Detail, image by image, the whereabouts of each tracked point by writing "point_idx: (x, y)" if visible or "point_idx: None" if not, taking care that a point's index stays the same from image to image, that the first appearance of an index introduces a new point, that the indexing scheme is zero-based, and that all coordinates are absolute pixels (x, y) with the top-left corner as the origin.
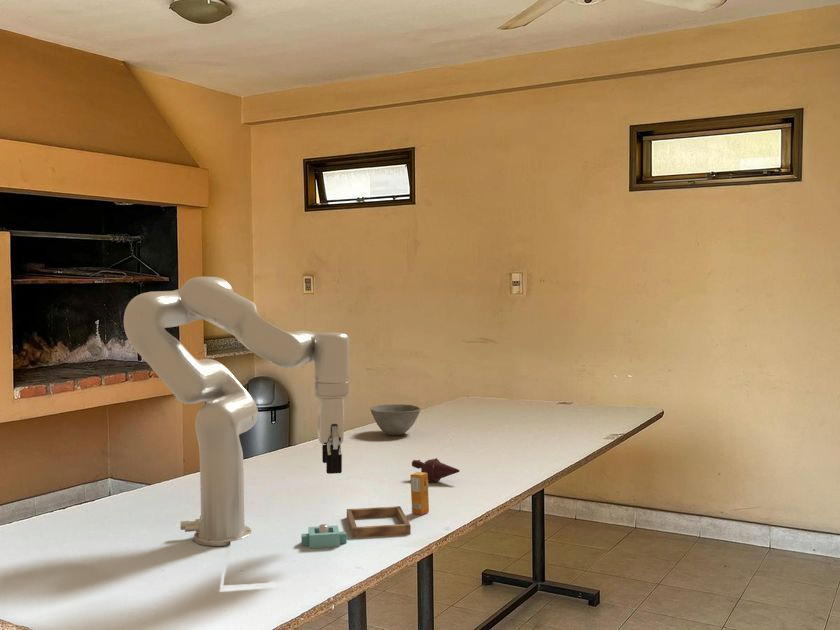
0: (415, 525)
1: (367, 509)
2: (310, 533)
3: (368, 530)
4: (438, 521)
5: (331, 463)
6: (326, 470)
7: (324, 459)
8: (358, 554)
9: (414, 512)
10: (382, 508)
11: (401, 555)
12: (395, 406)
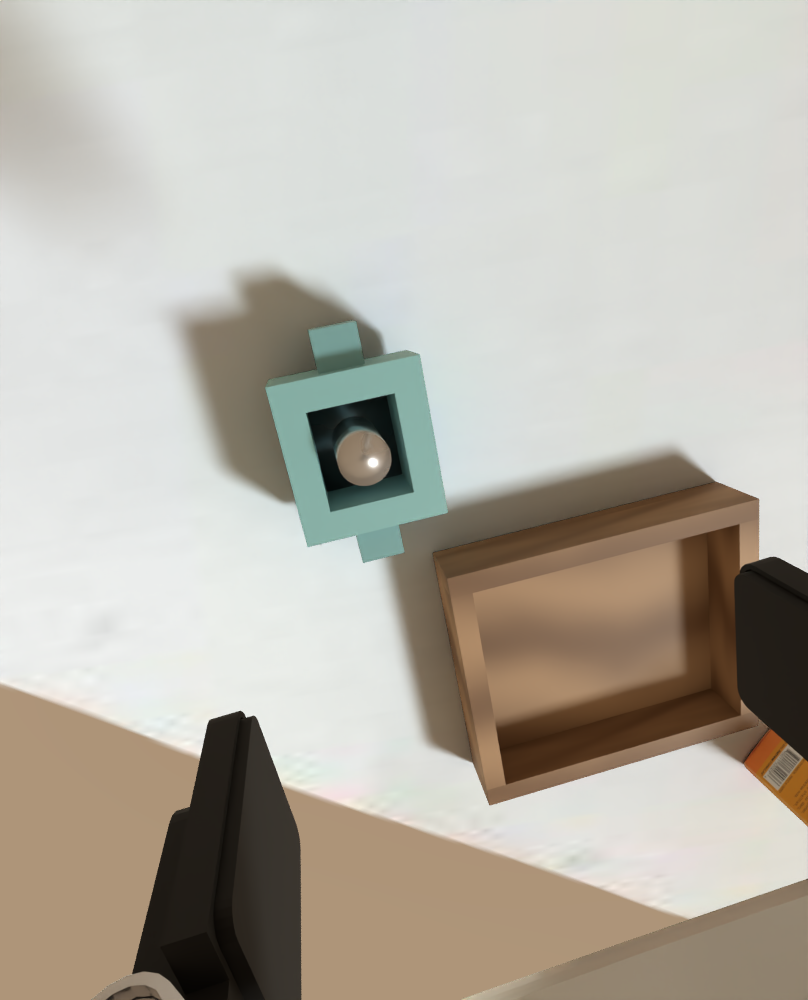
0: None
1: None
2: (301, 387)
3: (456, 639)
4: (663, 823)
5: (159, 887)
6: (226, 728)
7: (761, 600)
8: (269, 601)
9: (768, 738)
10: None
11: None
12: None
